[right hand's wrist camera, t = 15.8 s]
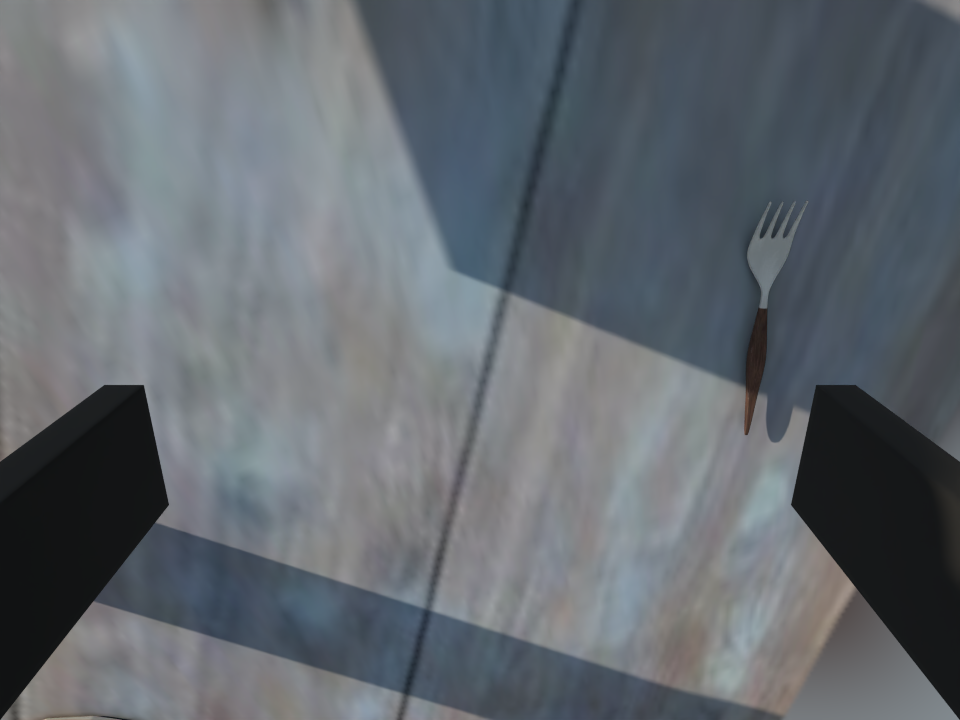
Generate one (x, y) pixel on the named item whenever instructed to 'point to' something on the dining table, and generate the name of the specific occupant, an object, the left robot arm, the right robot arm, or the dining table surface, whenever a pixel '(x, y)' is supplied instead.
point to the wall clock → (82, 718)
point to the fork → (764, 296)
